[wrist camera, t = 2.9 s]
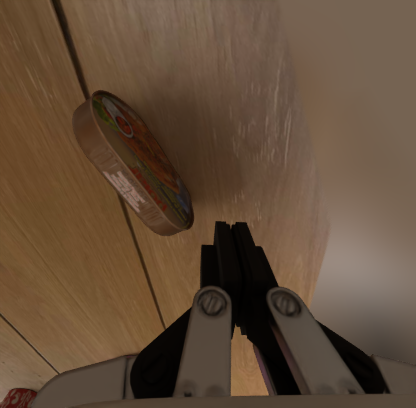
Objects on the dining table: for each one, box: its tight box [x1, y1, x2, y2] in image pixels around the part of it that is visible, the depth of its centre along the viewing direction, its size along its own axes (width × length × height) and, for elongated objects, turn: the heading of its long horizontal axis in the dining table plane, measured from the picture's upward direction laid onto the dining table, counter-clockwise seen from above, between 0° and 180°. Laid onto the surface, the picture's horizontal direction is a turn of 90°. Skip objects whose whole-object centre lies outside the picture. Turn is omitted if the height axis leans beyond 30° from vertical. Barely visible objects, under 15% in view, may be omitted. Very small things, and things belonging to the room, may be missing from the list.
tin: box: [72, 90, 194, 236], centre depth 19 cm, size 15×3×8 cm, turn 28°
